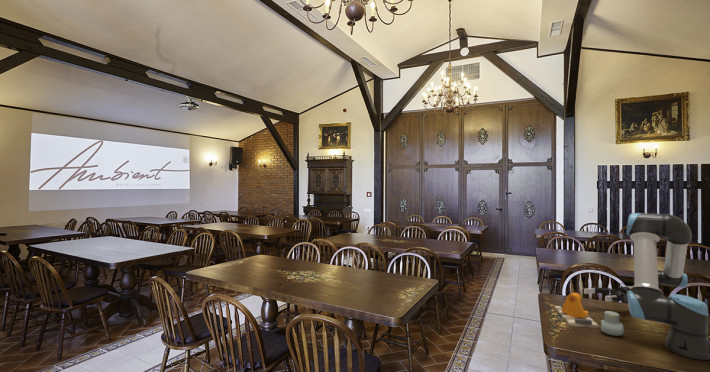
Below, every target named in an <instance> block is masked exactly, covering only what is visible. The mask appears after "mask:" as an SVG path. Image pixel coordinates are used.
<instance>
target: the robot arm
mask: <svg viewBox="0 0 710 372" xmlns="http://www.w3.org/2000/svg"><path fill="white" fill-rule="evenodd" d="M691 230H692V229H690V226H689V225H688V224H687V223H686V222H685V221H684V220H683V219H682V218H681V217H678V216H676V215H673V214H669V213H664V214H663V213H647V212H646V213H642V212H636V213H635V212H632V213H630V214H629V216H628V220H627V225H626V235H627V236H629V238H630V240H631V241H633V259H634V260H633V263H634V264H633V265H634V266H633V285H632V286H631V285H629V286H628V285H627V286H618V287H617V288H615V289H613V288H612V289H611V288H610V287H599V286H598V287H595V286H591V287H589V288H584V289H583V294H585V295H586V294H587V295H588V294H602V295H605V296H604V302H621V303H627V305H628V310H629V313H630V315H631V317H633V318H635V319H639V320H643V321H645V320H646V321H650V322H655V323H661V324H665V325H666V324H667V325H670V330H669V332H668V334H667V336H666V338H665V340H664V346H665V348H666V349H667V350H669V351H671V352H673V353H674V354H676V355H680V356H682V357H686V358H691V359H694V360H702V361H709V360H710V339H709V337H708V336H709V308H708V305H707V304H706V303H705V302H704V301H702V300H700V299H697V298H694V297H692V296H688V295H683V294H680V293H679V294H676V293H671V294H670V296H665V295H664V292H663V291H662V289H660V288H659V285H662V286H668V287H675V288H687V287H688V275H687V273H684V272H685V263H686V257H687V250H688V244H690V243H691V242H692V237H693V236H692V235H693V234H692V231H691ZM661 238H664V239H665V240H666V249H665V260H664V270H658V252H657V249H658V248H657V243H658V242H660V240H661Z"/></svg>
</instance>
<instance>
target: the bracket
mask: <svg viewBox="0 0 710 372" xmlns="http://www.w3.org/2000/svg"><path fill="white" fill-rule="evenodd" d="M581 301H582V296H581V295H580V294H579V293H578V292H572V293H570V294H568V295H567V296H566V299H565V300H564V305H563V307H562V312H563V313H567V315H568V316H572V317H575V318H579V317H581V318H585V317H587V316H589V311H588V310H585V309H584V307H583V304H582V302H581Z"/></svg>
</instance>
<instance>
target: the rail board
mask: <svg viewBox="0 0 710 372" xmlns="http://www.w3.org/2000/svg"><path fill="white" fill-rule="evenodd" d="M563 305H564V303H563V302H562V303H560V306H559V305H554V309H555V310H556V311H557V312H558V313H559V315H560V316H561V317H562V319H564V320H565V322H566V323H567V324H568V325H569V326H571V327H581V328H582V327H583V328H592V329H599V328H600V325H599V324H597V322H596V321H595V320H594V319H592V317H590V316H589V315H588V316H587V317H585V318H581V317H579V318H575V317H572V316H568V315H567V313H563V312H562V307H563Z"/></svg>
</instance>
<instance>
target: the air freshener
mask: <svg viewBox="0 0 710 372" xmlns="http://www.w3.org/2000/svg"><path fill="white" fill-rule="evenodd" d="M603 315H604V316H603V318H604V319H601V320H600V329H601V330H600V331H601V332H602V333H604V334H607V335H609V336H615V337H617V336H618V337H619V336H623V335H624V325H623V324H622V323H621V322H620V314H619V313H618V312H615V311H611V310H606V311H604V314H603Z"/></svg>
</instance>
